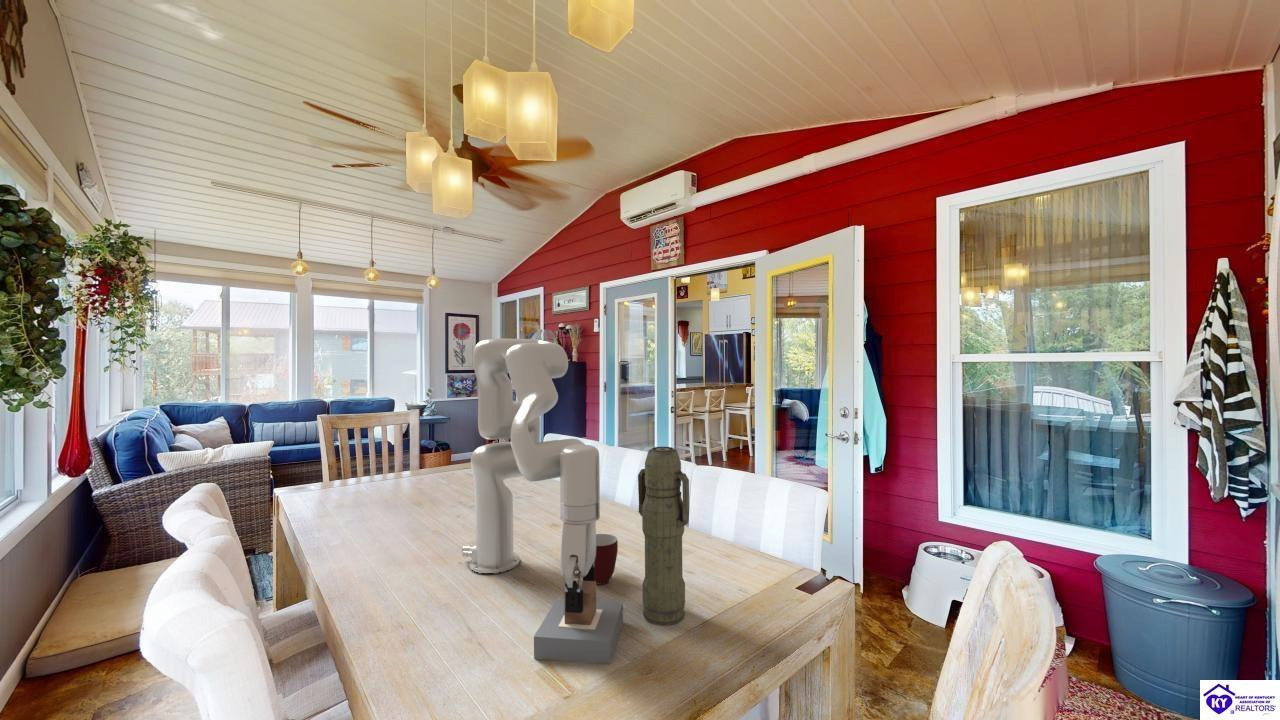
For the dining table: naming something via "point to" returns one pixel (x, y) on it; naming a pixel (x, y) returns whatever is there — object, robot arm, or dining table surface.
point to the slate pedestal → (579, 635)
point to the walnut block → (584, 605)
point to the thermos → (663, 534)
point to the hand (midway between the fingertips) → (581, 598)
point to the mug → (605, 557)
